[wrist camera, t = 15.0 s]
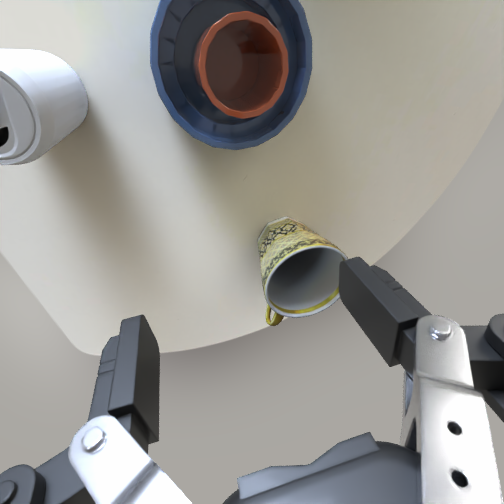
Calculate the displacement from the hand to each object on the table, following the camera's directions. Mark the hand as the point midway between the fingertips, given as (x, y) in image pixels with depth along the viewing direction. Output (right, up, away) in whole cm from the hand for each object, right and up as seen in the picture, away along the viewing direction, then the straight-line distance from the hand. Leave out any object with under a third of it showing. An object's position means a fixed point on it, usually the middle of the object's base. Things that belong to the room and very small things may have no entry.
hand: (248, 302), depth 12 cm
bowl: (-2, +20, +16) cm, 26 cm away
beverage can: (-18, +16, +15) cm, 28 cm away
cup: (-2, +19, +16) cm, 25 cm away
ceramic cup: (+3, +3, +29) cm, 30 cm away
